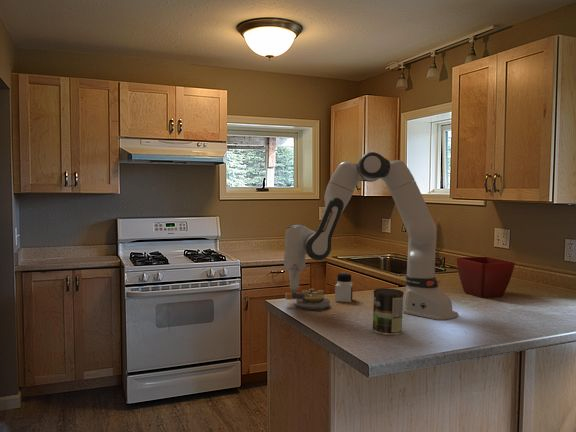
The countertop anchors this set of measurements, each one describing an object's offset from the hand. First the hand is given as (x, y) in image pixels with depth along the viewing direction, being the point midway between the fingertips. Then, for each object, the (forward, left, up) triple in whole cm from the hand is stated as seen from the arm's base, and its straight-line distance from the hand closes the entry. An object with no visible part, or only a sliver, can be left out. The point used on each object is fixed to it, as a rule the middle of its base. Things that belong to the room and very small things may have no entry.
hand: (293, 295), depth 209 cm
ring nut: (-4, -3, -1) cm, 5 cm away
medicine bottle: (-5, -25, -4) cm, 26 cm away
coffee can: (-48, -4, -4) cm, 48 cm away
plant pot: (-34, -90, -4) cm, 96 cm away
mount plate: (-6, -6, -4) cm, 9 cm away
